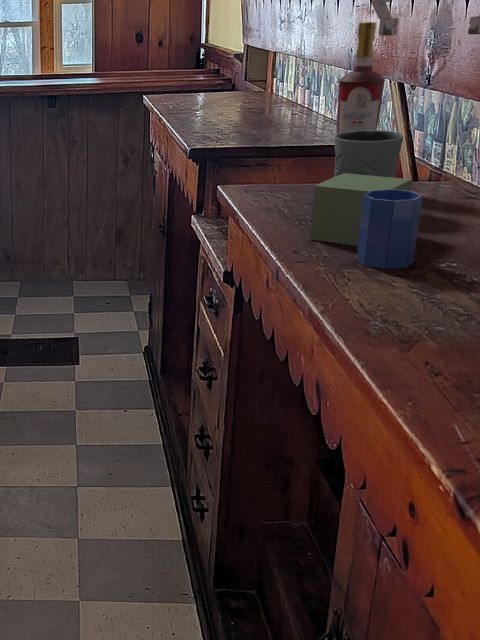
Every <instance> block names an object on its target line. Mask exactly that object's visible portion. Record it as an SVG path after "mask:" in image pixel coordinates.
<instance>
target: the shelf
mask: <svg viewBox="0 0 480 640" xmlns="http://www.w3.org/2000/svg"><path fill="white" fill-rule="evenodd" d="M333 177H334V176H333ZM333 177H332V178H328V179H327V180H325V181H322V182H320V183H317V184H315V185H314V187H313V197H312V198H313V199H312V210H311V222H310V233H309V240H311V241H319V242H324V243H325V242H326V243H333V244H338V245H346V246H352V247H353V246H354V247H358V240H359V230H360V221H361V212H362V203H363V194H365V193H367V192H369V191H372V190H386V189H396V190H406V191H411V186H412V179H411V178H399V177H395V178H391V177H380V176H369V175H358V174H347V173H343V174H341V175H338V176H336V177H334V178H333Z"/></svg>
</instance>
